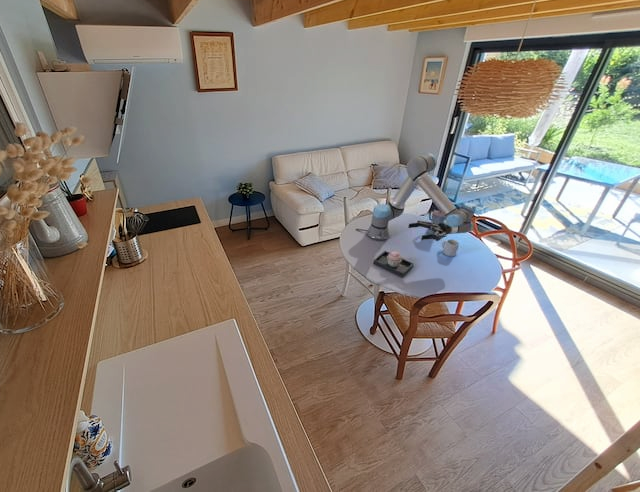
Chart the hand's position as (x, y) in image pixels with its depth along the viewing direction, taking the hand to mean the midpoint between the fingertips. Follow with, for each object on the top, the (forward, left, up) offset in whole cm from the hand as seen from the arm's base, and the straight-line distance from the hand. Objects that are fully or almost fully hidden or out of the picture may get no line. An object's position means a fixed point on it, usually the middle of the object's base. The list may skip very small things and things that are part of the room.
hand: (415, 231), depth 171 cm
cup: (+14, +31, -24) cm, 42 cm away
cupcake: (-6, -8, -24) cm, 26 cm away
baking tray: (-6, -8, -24) cm, 26 cm away
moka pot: (-3, +50, -24) cm, 56 cm away
